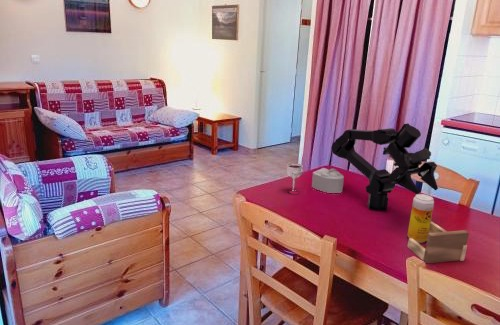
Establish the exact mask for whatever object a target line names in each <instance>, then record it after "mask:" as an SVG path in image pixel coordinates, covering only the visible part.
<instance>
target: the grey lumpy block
mask: <svg viewBox="0 0 500 325" xmlns="http://www.w3.org/2000/svg"><path fill="white" fill-rule="evenodd" d="M344 177H345V176H344V174H342V173H340V171H338V170H337V169H336V168H330V169H328V168H325V167H322V168H319V169H318V170H315V171H313V172H312V180H311V188H312V187H313V188H315V189H317V190H320V191H323V192H327V193H341V192H342V193H343V188H344V179H345V178H344ZM342 193H341V194H342Z"/></svg>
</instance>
